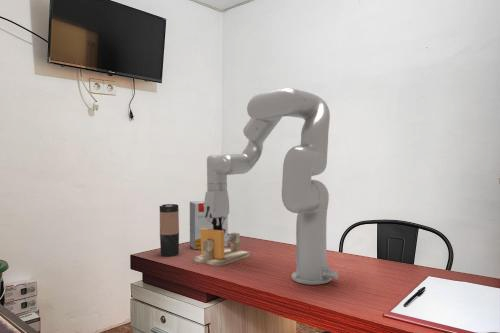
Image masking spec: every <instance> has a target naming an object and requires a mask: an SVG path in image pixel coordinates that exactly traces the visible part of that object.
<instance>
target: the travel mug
mask: <svg viewBox="0 0 500 333" xmlns="http://www.w3.org/2000/svg"><path fill="white" fill-rule="evenodd" d="M179 214H180V213H179V204H176V203H167V204H162V205H159V240H160V241H159V242H160V244H159V245H160V256H162V257H175V256H178V255H179V252H180V249H179V248H180V218H179V217H180V216H179Z"/></svg>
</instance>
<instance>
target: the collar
mask: <svg viewBox="0 0 500 333" xmlns="http://www.w3.org/2000/svg"><path fill="white" fill-rule="evenodd" d="M206 239H207V240H214V247H213V258H218V259H222V258H224V248H225V247H224V231H221V230H214V229H207V228H203V229H201V249H200V255H203V240H206Z"/></svg>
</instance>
